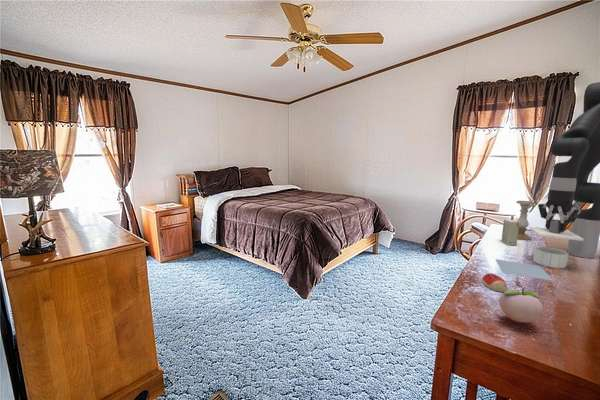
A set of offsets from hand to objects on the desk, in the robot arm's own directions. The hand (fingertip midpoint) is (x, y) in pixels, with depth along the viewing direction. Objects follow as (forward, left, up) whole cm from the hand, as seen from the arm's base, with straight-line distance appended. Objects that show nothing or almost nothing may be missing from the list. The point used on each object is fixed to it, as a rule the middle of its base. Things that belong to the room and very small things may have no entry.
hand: (554, 230), depth 110 cm
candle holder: (-40, -1, -15) cm, 43 cm away
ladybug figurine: (+33, -24, -15) cm, 44 cm away
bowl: (0, 0, -15) cm, 15 cm away
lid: (0, 0, -2) cm, 2 cm away
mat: (+13, -12, -15) cm, 23 cm away
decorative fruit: (+56, -22, -15) cm, 62 cm away
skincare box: (-25, -9, -15) cm, 31 cm away
